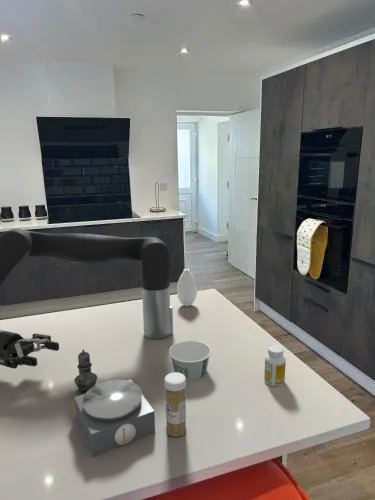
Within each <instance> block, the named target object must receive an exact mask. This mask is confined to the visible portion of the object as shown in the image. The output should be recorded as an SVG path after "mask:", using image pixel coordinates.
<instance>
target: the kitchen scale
mask: <svg viewBox="0 0 375 500" xmlns="http://www.w3.org/2000/svg"><path fill="white" fill-rule="evenodd" d="M127 381H131V382H133V380H132V379H128V380H127ZM84 395H85V394H83V395H80V396H78V395H77V396H74V397H73V399H74V408H75V417H76V420H77V423H78V425H79V426H80V429H81V431H82V434H83V436H84V438H85V441H86V443H87V445H88V448H89V450H90V452H91V455H92V457H95V456H98V455H101V454H104V453H106V452H109V451H111V450H113V449H115V448H116V449H117V448H118V447H120V446H123V445H127V444H129V443H131V442H133V441H136V440H139V439H141V438H142V437H143V438H144V437H146V436H149V435H151V434H153V433H155V432H156V424H155V423H156V420H155V418H156V417H155V410H154V409H153V407H152V406H151V404H150V403H149V402H148V400H147V399H146V398H145V396H144V394H142V401H141V404H140V406H139V407H138V408H137V409H136V410H135V411H134V412H133V413H131V414H130V415H128V416H126V417H124V418H121V419H117V420H110V421H102V420H97V419H94V418H91V417H90V416H88V415H87V414H86V413H85V411H84V409H83V397H84Z"/></svg>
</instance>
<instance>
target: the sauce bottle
mask: <svg viewBox="0 0 375 500" xmlns="http://www.w3.org/2000/svg"><path fill="white" fill-rule="evenodd" d="M176 294H177V299H178V301H179V303H180V304H182V305H183V306H185V307H190V306H192V304H195V303H194V302H195V301H196V298H197V295H198V287H197V283H196V279H195V277H194V275H193V273H192V272H191V269H189V268H188V263H186V264H185V269H183V271H182V273H181V275H180V276H179V279H178V281H177V287H176Z"/></svg>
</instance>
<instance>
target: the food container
mask: <svg viewBox="0 0 375 500" xmlns="http://www.w3.org/2000/svg"><path fill="white" fill-rule="evenodd" d="M168 355H169V357H170V358H171V362H172V363H171V364H172V368H173V373H175V372H177V373H181V374H183V375H184V376H185V378H186V381H196V380H200V379H202V378H203V377H205V376H206V374H207V371H208V367H209V360H210V356H211V355H212V349H211V347H210V345H208V344H207V343H205V342H202V341H197V340H184V341H179V342H176V343H174V344H173V345H171V346H170V348H169V349H168Z"/></svg>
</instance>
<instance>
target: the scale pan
mask: <svg viewBox="0 0 375 500" xmlns="http://www.w3.org/2000/svg"><path fill="white" fill-rule="evenodd" d="M142 395H143V394H142V390H141V387H139V385H137V384H136V383H135V382H134V381H132V382H131V381H127V380H126V379H110V380H105V381H102V382H99V383H97V384H95V386H93V387H92V388H90V389H89V390H88V391H87V392H86V394H85V395H84V397H83V409H84V411H85V413H86V414H87V415H88V416H90V417H91V418H94V419H97V420H102V421H110V420H117V419H121V418H124V417H126V416H128V415H130V414H131V413H133V412H134V411H135V410H136V409H137V408H138V407H139V406H140V404H141V401H142Z"/></svg>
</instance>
